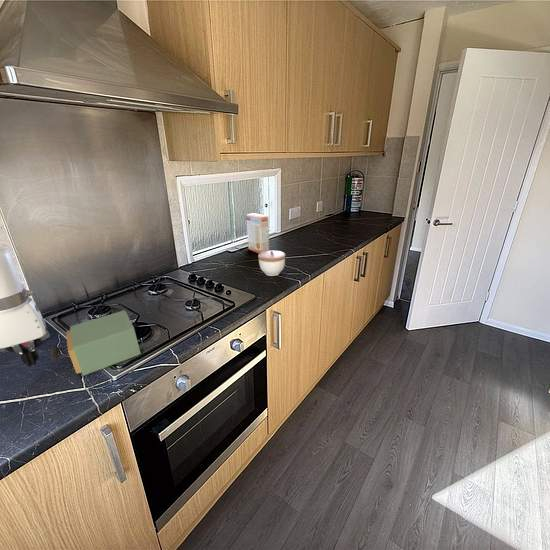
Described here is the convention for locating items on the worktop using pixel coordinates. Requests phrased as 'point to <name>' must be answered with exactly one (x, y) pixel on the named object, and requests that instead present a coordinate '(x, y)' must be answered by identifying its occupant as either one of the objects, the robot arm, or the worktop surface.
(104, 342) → the green box
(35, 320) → the robot arm
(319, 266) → the worktop surface
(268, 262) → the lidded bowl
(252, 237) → the cracker box
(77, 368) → the wooden pull-out drawer
